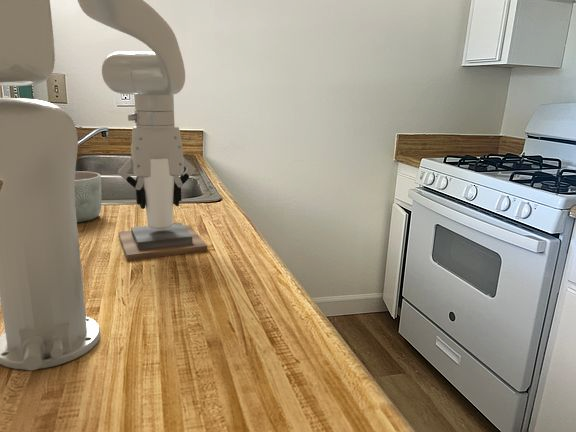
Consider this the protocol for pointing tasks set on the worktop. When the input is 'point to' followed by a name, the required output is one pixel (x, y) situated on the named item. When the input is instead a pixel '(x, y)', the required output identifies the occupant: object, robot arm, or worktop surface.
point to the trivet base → (160, 250)
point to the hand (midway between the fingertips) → (159, 205)
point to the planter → (87, 195)
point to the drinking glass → (159, 195)
